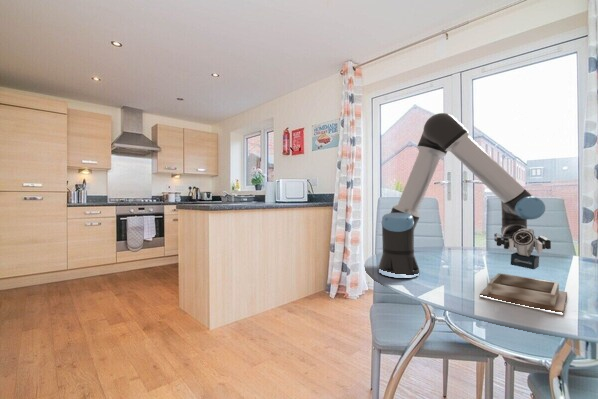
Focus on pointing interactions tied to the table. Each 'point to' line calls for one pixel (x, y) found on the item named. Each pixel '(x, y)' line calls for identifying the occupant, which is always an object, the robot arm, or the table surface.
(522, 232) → the watch
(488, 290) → the board
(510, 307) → the table surface
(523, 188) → the robot arm
